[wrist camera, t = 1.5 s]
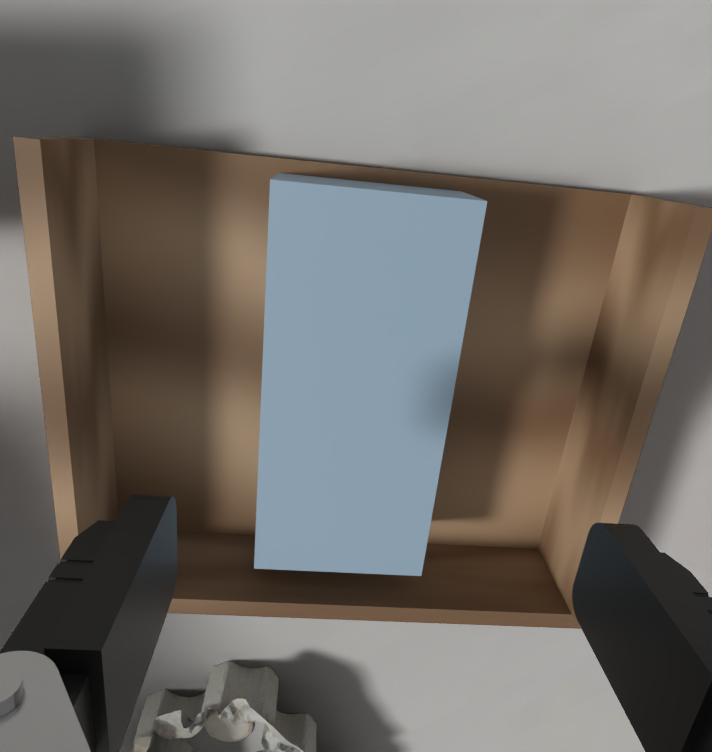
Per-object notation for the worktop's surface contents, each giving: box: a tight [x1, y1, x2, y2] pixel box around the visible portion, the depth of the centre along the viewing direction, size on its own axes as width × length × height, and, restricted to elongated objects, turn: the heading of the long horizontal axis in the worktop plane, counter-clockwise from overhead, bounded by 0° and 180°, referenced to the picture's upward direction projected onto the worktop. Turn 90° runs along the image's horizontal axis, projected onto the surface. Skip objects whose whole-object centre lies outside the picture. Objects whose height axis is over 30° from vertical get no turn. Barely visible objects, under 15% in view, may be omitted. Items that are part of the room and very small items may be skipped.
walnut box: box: [13, 137, 712, 629], centre depth 18 cm, size 14×17×4 cm
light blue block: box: [254, 173, 487, 576], centre depth 18 cm, size 12×6×3 cm, turn 174°
